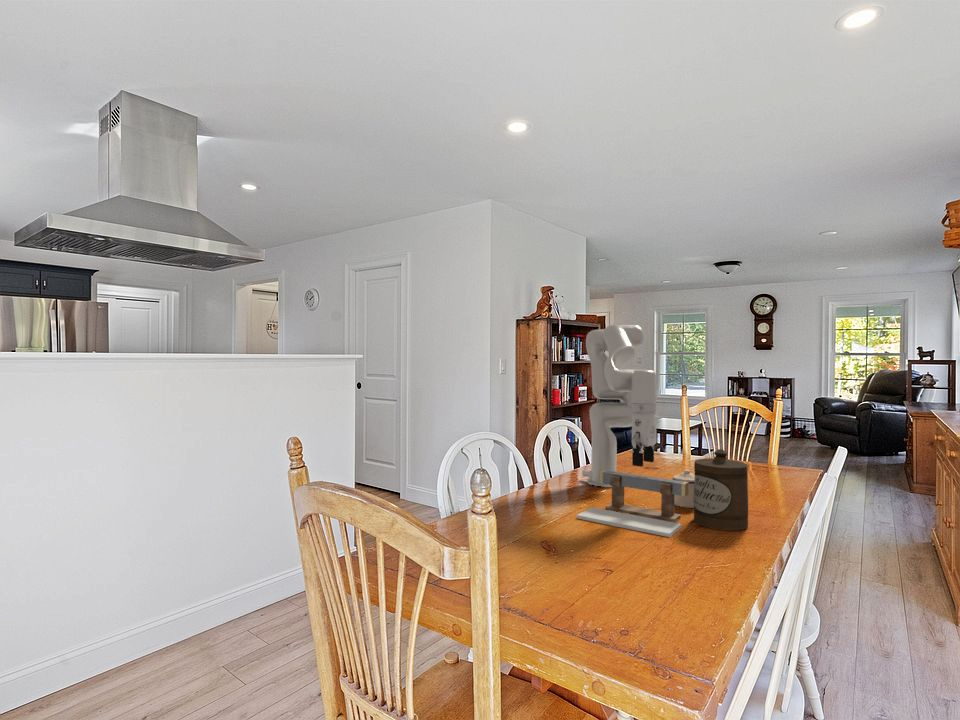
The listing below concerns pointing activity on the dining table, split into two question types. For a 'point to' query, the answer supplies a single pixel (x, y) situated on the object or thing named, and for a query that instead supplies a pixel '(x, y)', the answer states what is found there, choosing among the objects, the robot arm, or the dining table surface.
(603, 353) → the robot arm
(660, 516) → the rack
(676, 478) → the teacup with lid
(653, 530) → the mat
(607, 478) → the rail
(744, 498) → the wooden container
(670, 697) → the dining table surface
